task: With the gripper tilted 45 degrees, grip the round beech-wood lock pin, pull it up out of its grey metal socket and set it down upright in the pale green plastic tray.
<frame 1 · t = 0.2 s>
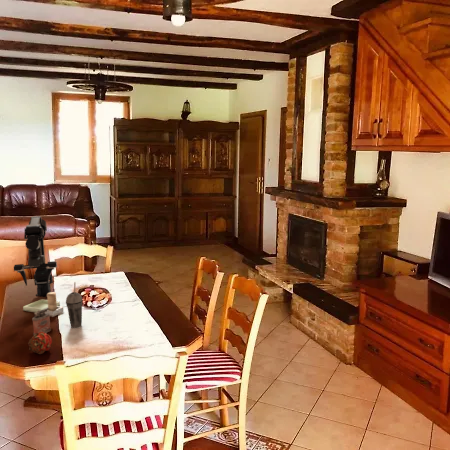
hand: (37, 284, 228), 15 cm above the table, tool tilted 15°, fingers open, 9 cm apart
tray: (41, 308, 241), on the table
pin socket: (53, 313, 233), on the table
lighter: (42, 332, 210), on the table
lock pin: (52, 303, 232), in the pin socket
beverage cup: (76, 326, 216), on the table
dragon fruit: (41, 351, 190), on the table
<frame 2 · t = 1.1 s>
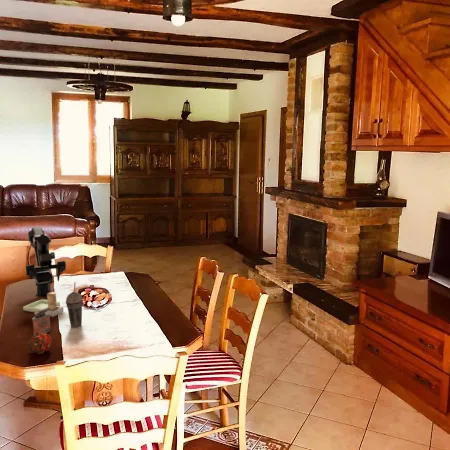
hand: (48, 282, 238), 13 cm above the table, tool tilted 45°, fingers open, 9 cm apart
nothing on the table moved.
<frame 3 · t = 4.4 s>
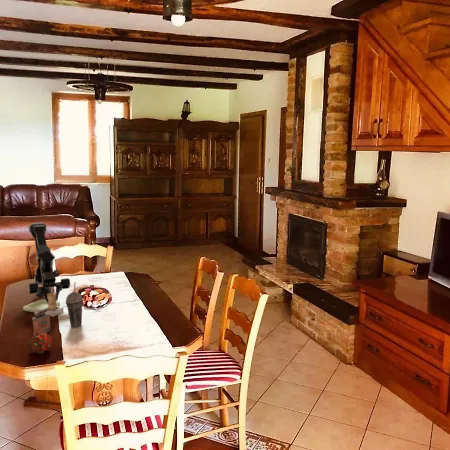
hand: (52, 301, 230), 7 cm above the table, tool tilted 45°, fingers closed on lock pin, 4 cm apart
lock pin: (52, 303, 232), in the pin socket, touching gripper
everything else where it was.
when the fingers open (9 cm above the table, at t = 9.4 s): lock pin drops 2 cm, resting on tray.
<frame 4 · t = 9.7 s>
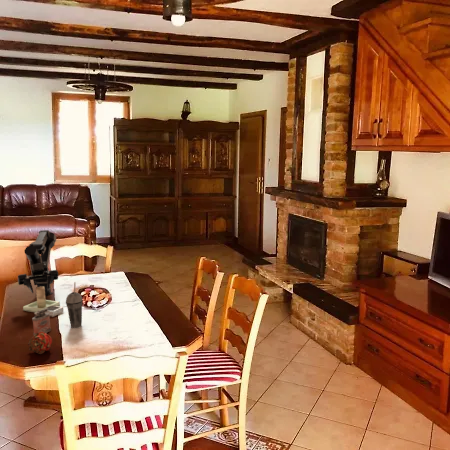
hand: (40, 291, 238), 9 cm above the table, tool tilted 45°, fingers open, 7 cm apart
lock pin: (41, 297, 240), in the tray, point 6 cm above the table
everything else where it was.
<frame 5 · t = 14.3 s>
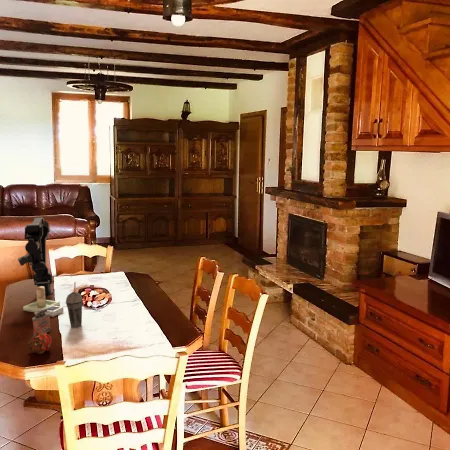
hand: (38, 279, 246), 13 cm above the table, tool pointing down, fingers open, 9 cm apart
nothing on the table moved.
at the end: lock pin inside the target area on the tray (0.0 cm from its centre), point 5.6 cm above the tray's base; lock pin tilted 0°; the gripper is holding nothing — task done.
